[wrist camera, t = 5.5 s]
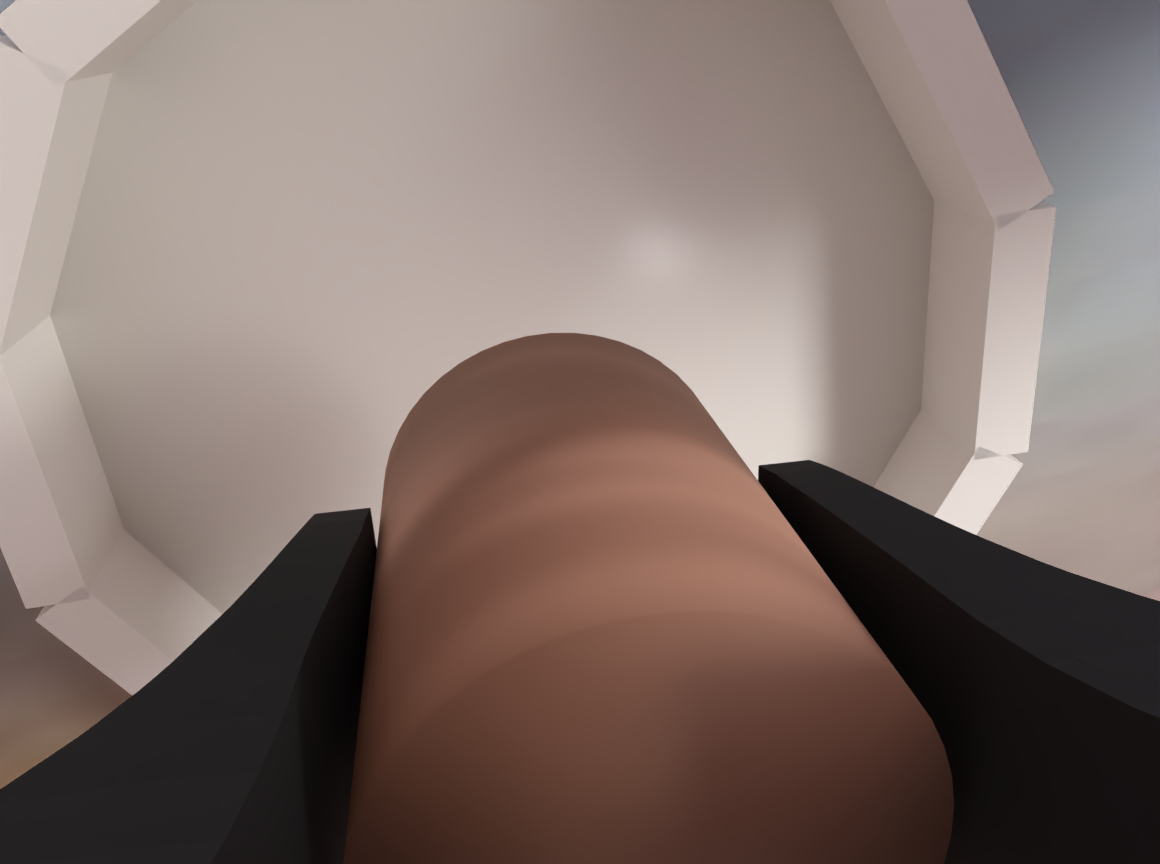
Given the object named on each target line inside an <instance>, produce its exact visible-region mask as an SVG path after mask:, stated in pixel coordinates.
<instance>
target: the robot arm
mask: <svg viewBox="0 0 1160 864" xmlns="http://www.w3.org/2000/svg"><path fill="white" fill-rule="evenodd" d="M758 481H759V483H760V484H761V486H762V487H763V488H764V490H765V491H766V492H767V494H768V495H769V496H770V498H771V499H772V501H773V502H774V503H775V505H776V506H777V507H778V509H779V510H780V512H781V513H782V514H783V516H784V517H785V518H786V520H787V521H788V522H789V524H790V525H791V527H792V528H793V529H794V531H795V532H796V533H797V535H798V536H799V538H800V539H801V540H802V542H803V543H804V544H805V546H806V547H807V549H808V550H809V551H810V553H811V554H812V555H813V557H814V558H815V559H816V561H817V562H818V564H819V565H820V566H821V568H822V569H823V570H824V572H825V573H826V575H827V576H828V577H829V579H830V580H831V581H832V583H833V584H834V585H835V587H836V588H837V590H838V591H839V592H840V594H841V595H842V596H843V598H844V599H845V601H846V602H847V603H848V605H849V606H850V607H851V609H852V610H853V611H854V613H855V614H856V616H857V617H858V618H859V620H860V621H861V622H862V624H863V625H864V627H865V628H866V629H867V631H868V632H869V633H870V635H871V636H872V638H873V639H874V640H875V642H876V643H877V644H878V646H879V647H880V648H881V650H882V651H883V653H884V654H885V655H886V657H887V658H888V659H889V661H890V662H891V664H892V665H893V666H894V668H895V669H896V670H897V672H898V673H899V674H900V676H901V677H902V679H903V680H904V681H905V683H906V684H907V685H908V687H909V688H910V690H911V691H912V692H913V694H914V695H915V696H916V698H917V699H918V701H919V702H920V704H921V705H922V706H923V708H924V709H925V711H926V712H927V713H928V715H929V716H930V718H931V719H932V721H933V723H934V725H935V728H936V730H937V732H938V734H939V736H940V738H941V740H942V743H943V745H944V747H945V751H946V755H947V758H948V762H949V766H950V770H951V774H952V783H953V796H954V813H953V824H952V834H951V838H950V842H949V847H948V851H947V855H946V859H945V863H944V864H1160V601H1157V600H1154V599H1150V598H1147V597H1143V596H1140V595H1137V594H1134V593H1131V592H1127V591H1124V590H1121V589H1118V588H1115V587H1112V586H1109V585H1106V584H1103V583H1100V582H1097V581H1094V580H1091V579H1088V578H1085V577H1082V576H1079V575H1076V574H1073V573H1070V572H1067V571H1064V570H1062V569H1059V568H1056V567H1054V566H1051V565H1048V564H1045V563H1043V562H1040V561H1038V560H1035V559H1033V558H1030V557H1028V556H1025V555H1023V554H1020V553H1018V552H1015V551H1013V550H1011V549H1008V548H1006V547H1003V546H1001V545H998V544H996V543H993V542H991V541H989V540H986V539H984V538H981V537H979V536H977V535H975V534H972V533H970V532H968V531H966V530H963V529H961V528H959V527H956V526H954V525H952V524H950V523H948V522H946V521H943V520H941V519H939V518H937V517H935V516H933V515H930V514H928V513H926V512H924V511H922V510H920V509H918V508H916V507H913V506H911V505H909V504H907V503H905V502H903V501H901V500H899V499H897V498H895V497H893V496H891V495H888V494H886V493H884V492H882V491H880V490H878V489H876V488H874V487H872V486H870V485H868V484H866V483H863V482H861V481H859V480H857V479H855V478H853V477H851V476H848V475H846V474H844V473H842V472H840V471H837V470H835V469H833V468H830V467H828V466H825V465H823V464H820V463H817V462H814V461H811V460H803V461H794V462H785V463H776V464H767V465H759V468H758ZM376 553H377V547H376V540H375V534H374V528H373V521H372V515H371V509H370V508H363V509H354V510H345V511H336V512H326V513H317V514H314V515H313V516H312V517H311V518H310V519H309V520H308V521H307V523H306V524H305V525H304V526H303V527H302V528H301V529H300V530H299V531H298V533H297V534H296V535H295V536H294V537H293V538H292V539H291V540H290V542H289V543H288V544H287V545H286V546H285V547H284V548H283V549H282V551H281V552H280V553H279V554H278V555H277V556H276V557H275V559H274V560H273V561H272V562H271V563H270V564H269V565H268V566H267V567H266V569H265V570H264V571H263V572H262V573H261V574H260V575H259V576H258V578H257V579H256V580H255V581H254V582H253V583H252V584H251V585H250V586H249V587H248V588H247V589H246V590H245V592H244V593H243V594H242V595H241V596H240V597H239V598H238V599H237V600H236V601H235V602H234V603H233V604H232V605H231V606H230V607H229V608H228V609H227V610H226V611H225V612H224V613H223V614H222V615H221V616H220V617H219V618H218V619H217V620H216V621H215V622H214V623H213V624H212V625H211V626H210V627H208V628H207V629H206V630H205V631H204V632H203V633H202V634H201V635H200V636H199V637H198V638H197V639H196V640H195V641H194V642H193V643H192V644H191V645H190V646H189V647H188V648H187V649H185V650H184V651H183V652H182V653H181V654H180V655H179V656H178V657H177V658H176V659H175V660H174V661H173V662H172V663H171V664H169V665H168V666H167V667H166V668H165V669H164V670H163V671H161V672H160V673H159V674H158V675H157V676H156V677H154V678H153V679H152V680H151V681H150V682H148V683H147V684H146V685H145V686H144V687H142V688H141V689H140V690H139V691H138V692H136V693H135V694H134V695H133V696H131V697H130V698H129V699H128V700H126V701H125V702H124V703H122V704H121V705H120V706H119V707H117V708H116V709H115V710H113V711H112V712H111V713H110V714H108V715H107V716H106V717H104V718H103V719H102V720H101V721H99V722H98V723H97V724H95V725H94V726H93V727H91V728H90V729H89V730H87V731H86V732H85V733H83V734H82V735H80V736H79V737H78V738H76V739H75V740H73V741H72V742H70V743H69V744H67V745H66V746H64V747H63V748H61V749H60V750H58V751H57V752H55V753H54V754H52V755H51V756H49V757H48V758H46V759H45V760H43V761H42V762H40V763H39V764H37V765H36V766H35V767H33V768H32V769H30V770H29V771H27V772H26V773H24V774H23V775H21V776H20V777H18V778H17V779H15V780H14V781H12V782H11V783H9V784H8V785H6V786H5V787H3V788H2V789H0V864H343V862H344V853H345V843H346V834H347V825H348V815H349V806H350V796H351V787H352V778H353V768H354V759H355V750H356V740H357V731H358V721H359V712H360V703H361V693H362V684H363V674H364V665H365V656H366V646H367V637H368V628H369V618H370V609H371V599H372V590H373V581H374V571H375V562H376Z"/></svg>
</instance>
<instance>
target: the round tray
mask: <svg viewBox="0 0 1160 864" xmlns="http://www.w3.org/2000/svg"><path fill="white" fill-rule="evenodd" d="M0 28H1V29H2V31H3V32H4V33H5V34H6V35H5V36H0V548H1V551H2V553H3V555H4V558H5V560H6V563H7V565H8V567H9V570H10V572H11V575H12V577H13V579H14V582H15V584H16V587H17V589H18V591H19V594H20V596H21V599H22V601H23V603H24V606H25V608H26V609H29V608H35V607H42V606H44V607H43V609H42V610H41V612H40V614H39V615H38V617H37V618H36V620H35V621H36V622H38V623H39V624H40V625H41V626H43V627H44V628H45V629H47V630H48V631H49V632H50V633H52V634H53V635H54V636H56V637H57V638H58V639H60V640H61V641H62V642H63V643H65V644H66V645H67V646H69V647H70V648H71V649H73V650H74V651H75V652H76V653H78V654H79V655H80V656H82V657H83V658H84V659H85V660H87V661H88V662H89V663H91V664H92V665H93V666H95V667H96V668H97V669H98V670H100V671H101V672H102V673H104V674H105V675H106V676H107V677H109V678H110V679H111V680H113V681H114V682H115V683H117V684H118V685H119V686H120V687H122V688H123V689H124V690H126V691H127V692H128V693H129V694H131V695H132V696H133V695H134V694H135V693H136V692H138V691H139V690H140V689H141V688H142V687H144V686H145V685H146V684H147V683H148V682H150V681H151V680H152V679H153V678H154V677H156V676H157V675H158V674H159V673H160V672H161V671H163V670H164V669H165V668H166V667H167V666H168V665H169V664H171V663H172V662H173V661H174V660H175V659H176V658H177V657H178V656H179V655H180V654H181V653H182V652H183V651H184V650H185V649H187V648H188V647H189V646H190V645H191V644H192V643H193V642H194V641H195V640H196V639H197V638H198V637H199V636H200V635H201V634H202V633H203V632H204V631H205V630H206V629H207V628H208V627H210V626H211V625H212V624H213V623H214V622H215V621H216V620H217V619H218V618H219V617H220V616H221V615H222V614H223V613H224V612H225V611H226V610H227V609H228V608H229V607H230V606H231V605H232V604H233V603H234V602H235V601H236V600H237V599H238V598H239V597H240V596H241V595H242V594H243V593H244V592H245V590H246V589H247V588H248V587H249V586H250V585H251V584H252V583H253V582H254V581H255V580H256V579H257V578H258V576H259V575H260V574H261V573H262V572H263V571H264V570H265V569H266V567H267V566H268V565H269V564H270V563H271V562H272V561H273V560H274V559H275V557H276V556H277V555H278V554H279V553H280V552H281V551H282V549H283V548H284V547H285V546H286V545H287V544H288V543H289V542H290V540H291V539H292V538H293V537H294V536H295V535H296V534H297V533H298V531H299V530H300V529H301V528H302V527H303V526H304V525H305V524H306V523H307V521H308V520H309V519H310V518H311V517H312V516H313V515H314V514H317V513H326V512H336V511H345V510H354V509H363V508H370V509H371V515H372V521H373V528H374V534H375V540H376V547H377V543H378V534H379V524H380V515H381V506H382V496H383V487H384V478H385V470H386V466H387V462H388V458H389V454H390V450H391V448H392V445H393V443H394V441H395V438H396V436H397V433H398V431H399V429H400V427H401V426H402V424H403V422H404V421H405V419H406V417H407V415H408V414H409V412H410V411H411V409H412V408H413V407H414V406H415V404H416V403H417V402H418V400H419V399H420V398H421V397H422V395H423V394H424V393H425V392H426V391H427V390H428V389H429V388H430V387H431V386H432V385H433V384H434V383H435V382H436V381H437V380H438V379H439V378H441V377H442V376H443V375H444V374H446V373H447V372H448V371H450V370H451V369H452V368H454V367H455V366H457V365H458V364H459V363H461V362H463V361H464V360H466V359H468V358H470V357H472V356H473V355H475V354H477V353H479V352H480V351H483V350H485V349H488V348H490V347H493V346H495V345H498V344H500V343H503V342H506V341H510V340H514V339H517V338H521V337H525V336H531V335H539V334H546V333H580V334H588V335H596V336H601V337H605V338H608V339H612V340H616V341H620V342H622V343H625V344H627V345H630V346H632V347H635V348H637V349H640V350H642V351H643V352H645V353H647V354H649V355H650V356H652V357H654V358H656V359H657V360H659V361H660V362H662V363H663V364H664V365H666V366H667V367H668V368H669V369H671V370H672V371H673V372H675V373H676V374H677V375H678V376H679V377H680V378H681V379H682V380H683V381H684V382H685V383H686V384H687V385H688V386H689V388H690V389H691V390H692V391H693V392H694V394H695V395H696V397H697V398H698V399H699V401H700V402H701V403H702V405H703V406H704V407H705V409H706V410H707V412H708V413H709V414H710V416H711V417H712V418H713V420H714V421H715V423H716V424H717V425H718V427H719V428H720V429H721V431H722V432H723V433H724V435H725V436H726V438H727V439H728V440H729V442H730V443H731V444H732V446H733V447H734V449H735V450H736V451H737V453H738V454H739V455H740V457H741V458H742V459H743V461H744V462H745V464H746V465H747V466H748V468H749V469H750V470H751V472H752V473H753V475H754V476H755V477H756V479H757V480H758V468H759V465H767V464H776V463H785V462H794V461H803V460H811V461H814V462H817V463H820V464H823V465H825V466H828V467H830V468H833V469H835V470H837V471H840V472H842V473H844V474H846V475H848V476H851V477H853V478H855V479H857V480H859V481H861V482H863V483H866V484H868V485H870V486H872V487H874V488H876V489H878V490H880V491H882V492H884V493H886V494H888V495H891V496H893V497H895V498H897V499H899V500H901V501H903V502H905V503H907V504H909V505H911V506H913V507H916V508H918V509H920V510H922V511H924V512H926V513H928V514H930V515H933V516H935V517H937V518H939V519H941V520H943V521H946V522H948V523H950V524H952V525H954V526H956V527H959V528H961V529H963V530H966V531H968V532H970V533H972V534H975V535H977V533H978V532H979V530H980V528H981V527H982V525H983V524H984V522H985V521H986V519H987V518H988V516H989V515H990V513H991V512H992V510H993V509H994V507H995V506H996V504H997V503H998V501H999V500H1000V498H1001V497H1002V495H1003V494H1004V492H1005V491H1006V489H1007V488H1008V486H1009V485H1010V483H1011V482H1012V480H1013V479H1014V477H1015V476H1016V474H1017V473H1018V471H1019V470H1020V468H1021V467H1022V465H1023V464H1022V463H1021V462H1020V461H1018V460H1017V459H1016V458H1014V457H1013V456H1012V455H1011V454H1017V453H1023V452H1028V447H1029V438H1030V430H1031V421H1032V413H1033V404H1034V396H1035V387H1036V378H1037V370H1038V361H1039V353H1040V344H1041V336H1042V327H1043V318H1044V310H1045V301H1046V293H1047V284H1048V276H1049V267H1050V258H1051V250H1052V241H1053V233H1054V224H1055V216H1056V207H1055V206H1052V205H1049V204H1046V203H1043V202H1041V201H1042V200H1044V199H1045V198H1047V197H1048V196H1050V195H1051V194H1052V193H1054V190H1053V188H1052V186H1051V183H1050V181H1049V179H1048V177H1047V175H1046V172H1045V170H1044V168H1043V166H1042V164H1041V161H1040V159H1039V157H1038V155H1037V153H1036V150H1035V148H1034V146H1033V144H1032V142H1031V139H1030V137H1029V135H1028V133H1027V131H1026V128H1025V126H1024V124H1023V122H1022V120H1021V117H1020V115H1019V113H1018V111H1017V109H1016V106H1015V104H1014V102H1013V100H1012V98H1011V95H1010V93H1009V91H1008V89H1007V87H1006V85H1005V82H1004V80H1003V78H1002V76H1001V74H1000V71H999V69H998V67H997V65H996V63H995V60H994V58H993V56H992V54H991V52H990V49H989V47H988V45H987V43H986V41H985V38H984V36H983V34H982V32H981V30H980V27H979V25H978V23H977V21H976V19H975V16H974V14H973V12H972V10H971V8H970V5H969V3H968V1H967V0H16V1H14V2H13V3H12V4H11V5H10V6H9V7H8V8H6V9H5V10H4V11H3V12H2V13H1V14H0Z"/></svg>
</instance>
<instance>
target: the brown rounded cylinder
mask: <svg viewBox="0 0 1160 864" xmlns="http://www.w3.org/2000/svg"><path fill="white" fill-rule="evenodd" d="M953 813H954V796H953V783H952V774H951V770H950V766H949V762H948V758H947V755H946V751H945V747H944V745H943V743H942V740H941V738H940V736H939V734H938V732H937V730H936V728H935V725H934V723H933V721H932V719H931V718H930V716H929V715H928V713H927V712H926V711H925V709H924V708H923V706H922V705H921V704H920V702H919V701H918V699H917V698H916V696H915V695H914V694H913V692H912V691H911V690H910V688H909V687H908V685H907V684H906V683H905V681H904V680H903V679H902V677H901V676H900V674H899V673H898V672H897V670H896V669H895V668H894V666H893V665H892V664H891V662H890V661H889V659H888V658H887V657H886V655H885V654H884V653H883V651H882V650H881V648H880V647H879V646H878V644H877V643H876V642H875V640H874V639H873V638H872V636H871V635H870V633H869V632H868V631H867V629H866V628H865V627H864V625H863V624H862V622H861V621H860V620H859V618H858V617H857V616H856V614H855V613H854V611H853V610H852V609H851V607H850V606H849V605H848V603H847V602H846V601H845V599H844V598H843V596H842V595H841V594H840V592H839V591H838V590H837V588H836V587H835V585H834V584H833V583H832V581H831V580H830V579H829V577H828V576H827V575H826V573H825V572H824V570H823V569H822V568H821V566H820V565H819V564H818V562H817V561H816V559H815V558H814V557H813V555H812V554H811V553H810V551H809V550H808V549H807V547H806V546H805V544H804V543H803V542H802V540H801V539H800V538H799V536H798V535H797V533H796V532H795V531H794V529H793V528H792V527H791V525H790V524H789V522H788V521H787V520H786V518H785V517H784V516H783V514H782V513H781V512H780V510H779V509H778V507H777V506H776V505H775V503H774V502H773V501H772V499H771V498H770V496H769V495H768V494H767V492H766V491H765V490H764V488H763V487H762V486H761V484H760V483H759V481H758V480H757V479H756V477H755V476H754V475H753V473H752V472H751V470H750V469H749V468H748V466H747V465H746V464H745V462H744V461H743V459H742V458H741V457H740V455H739V454H738V453H737V451H736V450H735V449H734V447H733V446H732V444H731V443H730V442H729V440H728V439H727V438H726V436H725V435H724V433H723V432H722V431H721V429H720V428H719V427H718V425H717V424H716V423H715V421H714V420H713V418H712V417H711V416H710V414H709V413H708V412H707V410H706V409H705V407H704V406H703V405H702V403H701V402H700V401H699V399H698V398H697V397H696V395H695V394H694V392H693V391H692V390H691V389H690V388H689V386H688V385H687V384H686V383H685V382H684V381H683V380H682V379H681V378H680V377H679V376H678V375H677V374H676V373H675V372H673V371H672V370H671V369H669V368H668V367H667V366H666V365H664V364H663V363H662V362H660V361H659V360H657V359H656V358H654V357H652V356H650V355H649V354H647V353H645V352H643V351H642V350H640V349H637V348H635V347H632V346H630V345H627V344H625V343H622V342H620V341H616V340H612V339H608V338H605V337H601V336H596V335H588V334H580V333H546V334H539V335H531V336H525V337H521V338H517V339H514V340H510V341H506V342H503V343H500V344H498V345H495V346H493V347H490V348H488V349H485V350H483V351H480V352H479V353H477V354H475V355H473V356H472V357H470V358H468V359H466V360H464V361H463V362H461V363H459V364H458V365H457V366H455V367H454V368H452V369H451V370H450V371H448V372H447V373H446V374H444V375H443V376H442V377H441V378H439V379H438V380H437V381H436V382H435V383H434V384H433V385H432V386H431V387H430V388H429V389H428V390H427V391H426V392H425V393H424V394H423V395H422V397H421V398H420V399H419V400H418V402H417V403H416V404H415V406H414V407H413V408H412V409H411V411H410V412H409V414H408V415H407V417H406V419H405V421H404V422H403V424H402V426H401V427H400V429H399V431H398V433H397V436H396V438H395V441H394V443H393V445H392V448H391V450H390V454H389V458H388V462H387V466H386V470H385V478H384V487H383V496H382V506H381V515H380V524H379V534H378V543H377V553H376V562H375V571H374V581H373V590H372V599H371V609H370V618H369V628H368V637H367V646H366V656H365V665H364V674H363V684H362V693H361V703H360V712H359V721H358V731H357V740H356V750H355V759H354V768H353V778H352V787H351V796H350V806H349V815H348V825H347V834H346V843H345V853H344V862H343V864H944V863H945V859H946V855H947V851H948V847H949V842H950V838H951V834H952V824H953Z"/></svg>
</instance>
